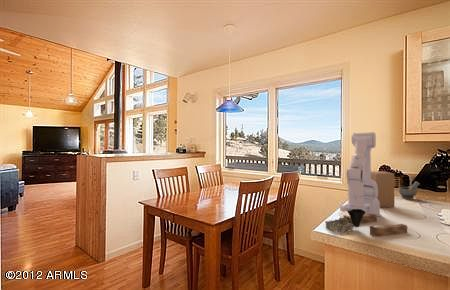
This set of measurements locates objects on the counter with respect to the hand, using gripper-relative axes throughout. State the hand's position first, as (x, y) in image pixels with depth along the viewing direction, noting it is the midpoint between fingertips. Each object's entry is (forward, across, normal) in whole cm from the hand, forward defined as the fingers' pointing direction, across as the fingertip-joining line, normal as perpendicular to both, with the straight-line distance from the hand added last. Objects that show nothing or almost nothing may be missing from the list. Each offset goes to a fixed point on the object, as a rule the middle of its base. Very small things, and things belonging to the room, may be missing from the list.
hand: (355, 226), depth 99 cm
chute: (+1, +9, 0) cm, 10 cm away
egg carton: (+2, -6, +3) cm, 7 cm away
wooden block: (+2, +45, +28) cm, 53 cm away
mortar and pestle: (+2, +77, +36) cm, 85 cm away
